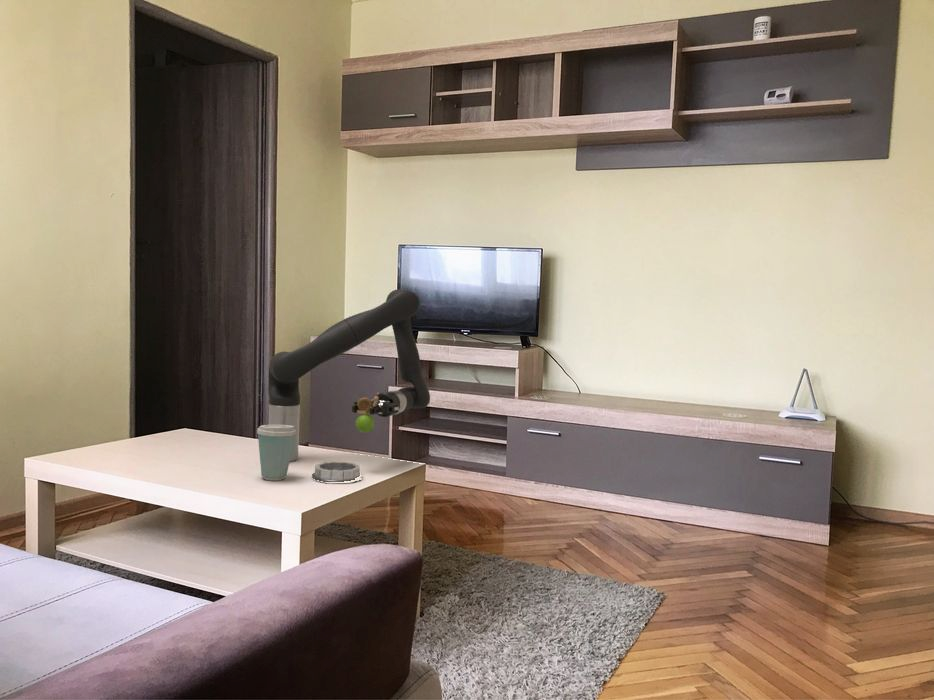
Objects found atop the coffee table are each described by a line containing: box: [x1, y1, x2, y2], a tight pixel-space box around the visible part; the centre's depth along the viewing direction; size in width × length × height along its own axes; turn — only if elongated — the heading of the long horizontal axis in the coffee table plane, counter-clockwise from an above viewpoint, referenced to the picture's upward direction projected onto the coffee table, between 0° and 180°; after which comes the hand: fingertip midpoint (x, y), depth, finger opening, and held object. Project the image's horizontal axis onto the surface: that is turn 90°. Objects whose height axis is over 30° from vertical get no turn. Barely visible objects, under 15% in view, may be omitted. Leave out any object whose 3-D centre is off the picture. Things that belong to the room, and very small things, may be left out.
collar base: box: [311, 461, 361, 482], centre depth 212 cm, size 14×14×3 cm
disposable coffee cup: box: [256, 424, 296, 481], centre depth 207 cm, size 11×11×15 cm
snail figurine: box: [355, 392, 380, 434], centre depth 219 cm, size 5×6×12 cm
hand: (362, 410), depth 217 cm, fingers closed on snail figurine, 5 cm apart
